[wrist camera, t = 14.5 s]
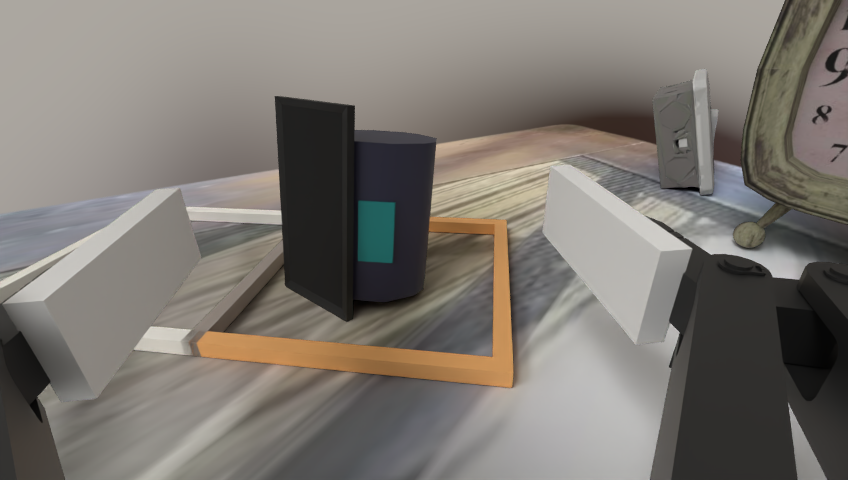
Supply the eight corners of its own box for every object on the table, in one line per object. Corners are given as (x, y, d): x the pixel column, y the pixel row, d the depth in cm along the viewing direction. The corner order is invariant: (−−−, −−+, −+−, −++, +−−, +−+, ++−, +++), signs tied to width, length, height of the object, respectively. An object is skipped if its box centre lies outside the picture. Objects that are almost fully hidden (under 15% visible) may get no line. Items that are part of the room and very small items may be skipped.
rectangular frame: (-61, 330, 21) (-70, 317, 21) (151, 214, 34) (147, 205, 33) (512, 387, 17) (513, 373, 16) (505, 230, 29) (506, 219, 29)
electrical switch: (712, 200, 34) (735, 77, 30) (641, 195, 36) (653, 82, 32) (711, 169, 41) (730, 67, 37) (652, 166, 43) (663, 71, 40)
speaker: (313, 339, 19) (296, 105, 15) (284, 286, 24) (265, 95, 20) (450, 301, 23) (463, 104, 19) (401, 261, 27) (404, 96, 24)
